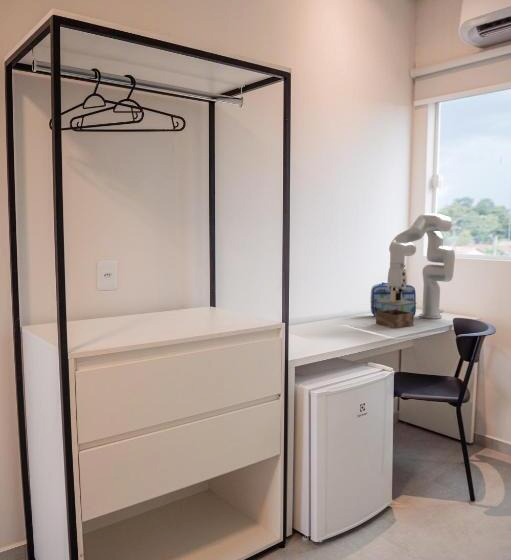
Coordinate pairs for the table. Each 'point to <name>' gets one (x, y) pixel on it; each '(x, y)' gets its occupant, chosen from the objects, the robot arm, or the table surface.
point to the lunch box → (385, 293)
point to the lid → (395, 301)
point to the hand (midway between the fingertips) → (396, 299)
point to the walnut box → (395, 318)
